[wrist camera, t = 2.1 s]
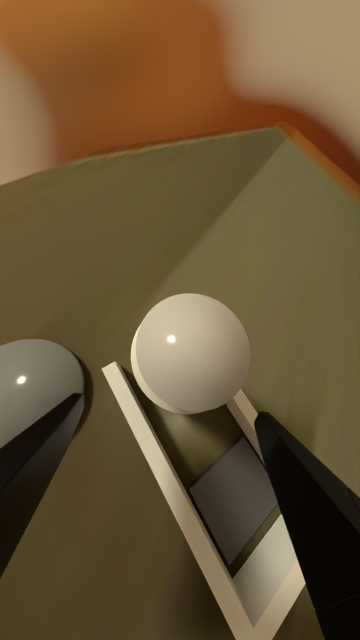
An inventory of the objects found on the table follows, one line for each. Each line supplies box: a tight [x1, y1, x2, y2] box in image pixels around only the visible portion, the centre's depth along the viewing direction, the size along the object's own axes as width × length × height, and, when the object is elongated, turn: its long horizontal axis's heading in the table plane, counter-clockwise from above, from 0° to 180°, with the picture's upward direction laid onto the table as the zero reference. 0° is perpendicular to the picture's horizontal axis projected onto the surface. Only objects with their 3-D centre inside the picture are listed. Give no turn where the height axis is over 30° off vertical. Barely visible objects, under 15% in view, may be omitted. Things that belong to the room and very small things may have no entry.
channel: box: [102, 362, 305, 640], centre depth 16 cm, size 21×10×3 cm, turn 33°
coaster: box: [0, 339, 85, 448], centre depth 15 cm, size 10×10×1 cm
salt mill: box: [131, 294, 251, 414], centre depth 13 cm, size 5×5×13 cm
